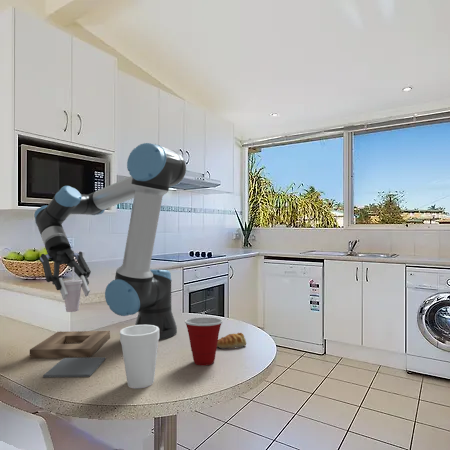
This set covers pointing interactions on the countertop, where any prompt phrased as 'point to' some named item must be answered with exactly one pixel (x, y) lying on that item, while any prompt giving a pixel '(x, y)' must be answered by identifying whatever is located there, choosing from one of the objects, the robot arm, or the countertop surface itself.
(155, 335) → the foam cup
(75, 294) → the smoothie
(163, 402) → the countertop surface
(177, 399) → the countertop surface
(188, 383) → the countertop surface
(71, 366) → the rubber mat
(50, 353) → the holder block
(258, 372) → the countertop surface
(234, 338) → the pastry
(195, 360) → the plastic cup
